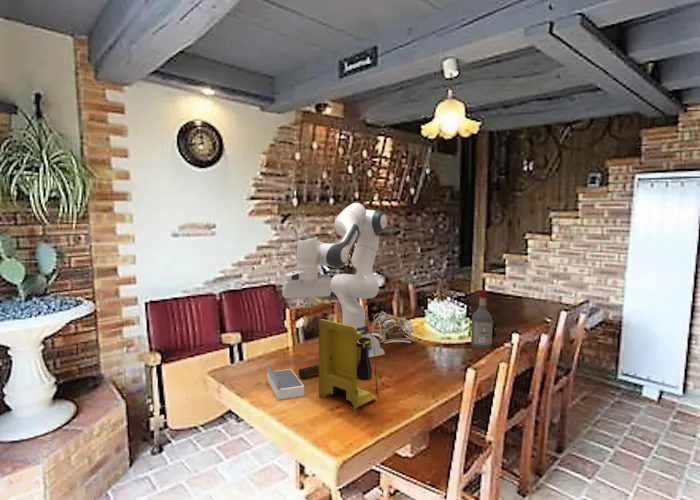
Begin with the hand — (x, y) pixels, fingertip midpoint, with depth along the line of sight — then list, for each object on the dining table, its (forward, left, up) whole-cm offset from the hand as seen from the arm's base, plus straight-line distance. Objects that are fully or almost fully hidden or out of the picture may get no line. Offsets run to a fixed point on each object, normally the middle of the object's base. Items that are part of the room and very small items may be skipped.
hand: (306, 307), depth 182 cm
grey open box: (+11, +8, -30) cm, 33 cm away
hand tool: (-1, -1, -33) cm, 33 cm away
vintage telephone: (-10, +26, -30) cm, 41 cm away
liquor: (-97, -9, -30) cm, 102 cm away
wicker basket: (-63, -41, -31) cm, 81 cm away
